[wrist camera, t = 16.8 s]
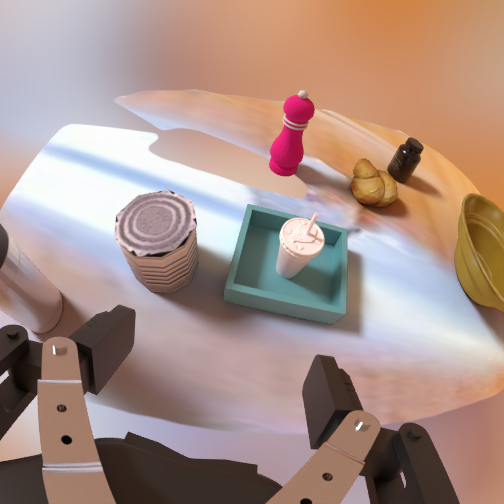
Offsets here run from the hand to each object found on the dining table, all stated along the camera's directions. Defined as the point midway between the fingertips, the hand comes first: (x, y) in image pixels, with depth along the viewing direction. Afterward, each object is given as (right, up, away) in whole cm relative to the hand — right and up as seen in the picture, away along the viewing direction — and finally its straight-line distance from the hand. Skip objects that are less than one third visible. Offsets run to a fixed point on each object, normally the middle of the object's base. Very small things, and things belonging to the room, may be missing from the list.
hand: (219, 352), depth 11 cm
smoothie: (+7, +1, +35) cm, 36 cm away
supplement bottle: (+42, +26, +57) cm, 75 cm away
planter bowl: (+57, -2, +42) cm, 71 cm away
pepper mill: (+8, +23, +50) cm, 56 cm away
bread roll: (+30, +17, +50) cm, 60 cm away
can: (-13, +2, +34) cm, 36 cm away
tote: (+7, +1, +36) cm, 37 cm away
